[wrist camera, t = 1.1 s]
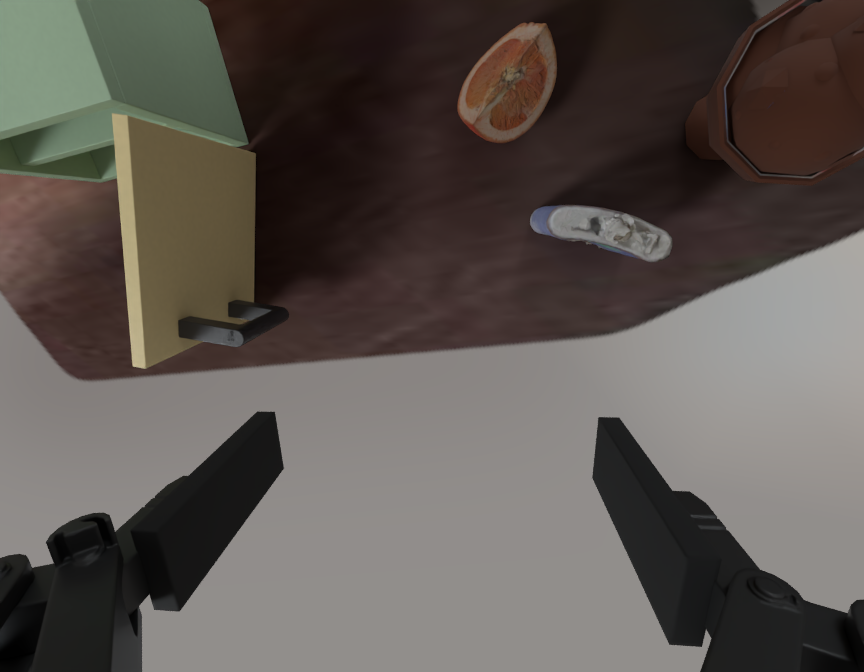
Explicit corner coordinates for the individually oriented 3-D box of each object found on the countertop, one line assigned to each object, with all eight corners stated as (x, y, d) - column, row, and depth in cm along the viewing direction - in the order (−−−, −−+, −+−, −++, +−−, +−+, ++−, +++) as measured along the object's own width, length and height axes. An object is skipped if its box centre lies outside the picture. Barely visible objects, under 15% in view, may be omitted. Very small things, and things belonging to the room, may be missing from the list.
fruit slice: (508, 23, 33) (515, -9, 28) (568, 80, 34) (585, 58, 29) (443, 113, 35) (439, 97, 30) (501, 165, 36) (506, 157, 31)
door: (310, 161, 37) (213, 127, 23) (302, 326, 42) (217, 381, 28) (245, 151, 37) (111, 112, 23) (244, 316, 42) (132, 366, 28)
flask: (525, 230, 37) (548, 235, 27) (535, 198, 36) (562, 190, 26) (622, 255, 37) (681, 270, 27) (634, 223, 36) (700, 226, 26)
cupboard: (249, 144, 37) (111, 99, 23) (101, 182, 40) (-108, 163, 25) (208, 7, 34) (21, -143, 20) (51, 57, 37) (-218, -46, 22)
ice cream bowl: (727, 17, 31) (944, -151, 17) (820, 116, 33) (1094, 38, 18) (623, 133, 34) (734, 73, 20) (712, 220, 36) (876, 222, 21)
